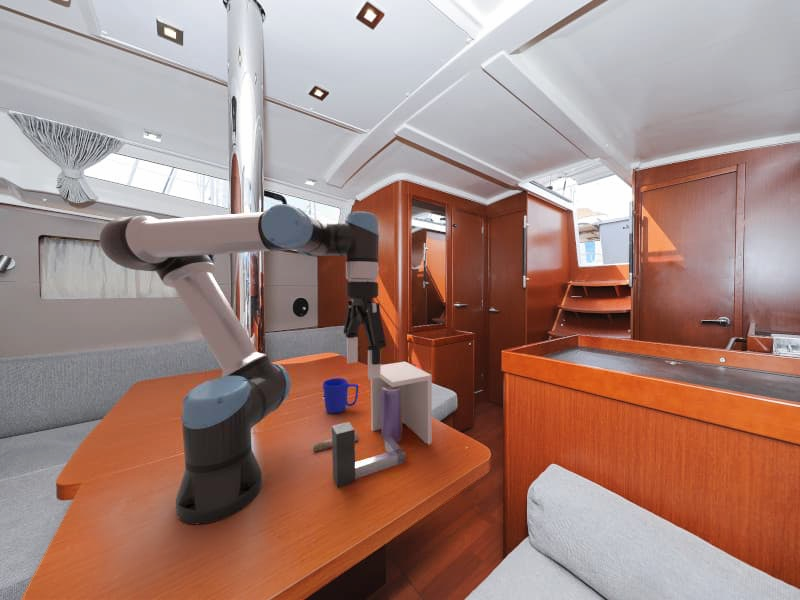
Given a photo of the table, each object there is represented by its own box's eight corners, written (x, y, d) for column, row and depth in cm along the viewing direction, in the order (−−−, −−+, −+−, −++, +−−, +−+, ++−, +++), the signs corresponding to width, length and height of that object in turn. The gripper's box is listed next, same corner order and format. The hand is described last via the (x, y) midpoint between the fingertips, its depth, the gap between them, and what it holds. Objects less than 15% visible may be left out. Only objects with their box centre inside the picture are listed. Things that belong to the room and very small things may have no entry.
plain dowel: (312, 445, 76) (313, 453, 75) (313, 442, 75) (314, 450, 74) (355, 434, 82) (357, 441, 80) (357, 431, 80) (358, 438, 79)
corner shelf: (393, 456, 72) (392, 382, 71) (371, 429, 86) (370, 366, 84) (431, 443, 78) (431, 375, 76) (405, 420, 91) (405, 361, 90)
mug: (356, 415, 94) (356, 386, 94) (320, 415, 95) (319, 386, 94) (360, 405, 103) (360, 378, 102) (327, 405, 103) (326, 378, 102)
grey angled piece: (337, 488, 61) (336, 434, 60) (328, 465, 69) (327, 417, 68) (406, 464, 69) (406, 416, 68) (391, 446, 76) (391, 403, 76)
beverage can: (393, 446, 77) (393, 391, 76) (377, 438, 80) (376, 386, 79) (406, 436, 81) (406, 385, 81) (390, 430, 85) (389, 381, 84)
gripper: (402, 281, 58) (401, 383, 59) (357, 280, 79) (357, 355, 81) (368, 280, 54) (368, 389, 55) (331, 280, 76) (331, 359, 77)
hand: (362, 369), depth 68 cm, fingers open, 13 cm apart
